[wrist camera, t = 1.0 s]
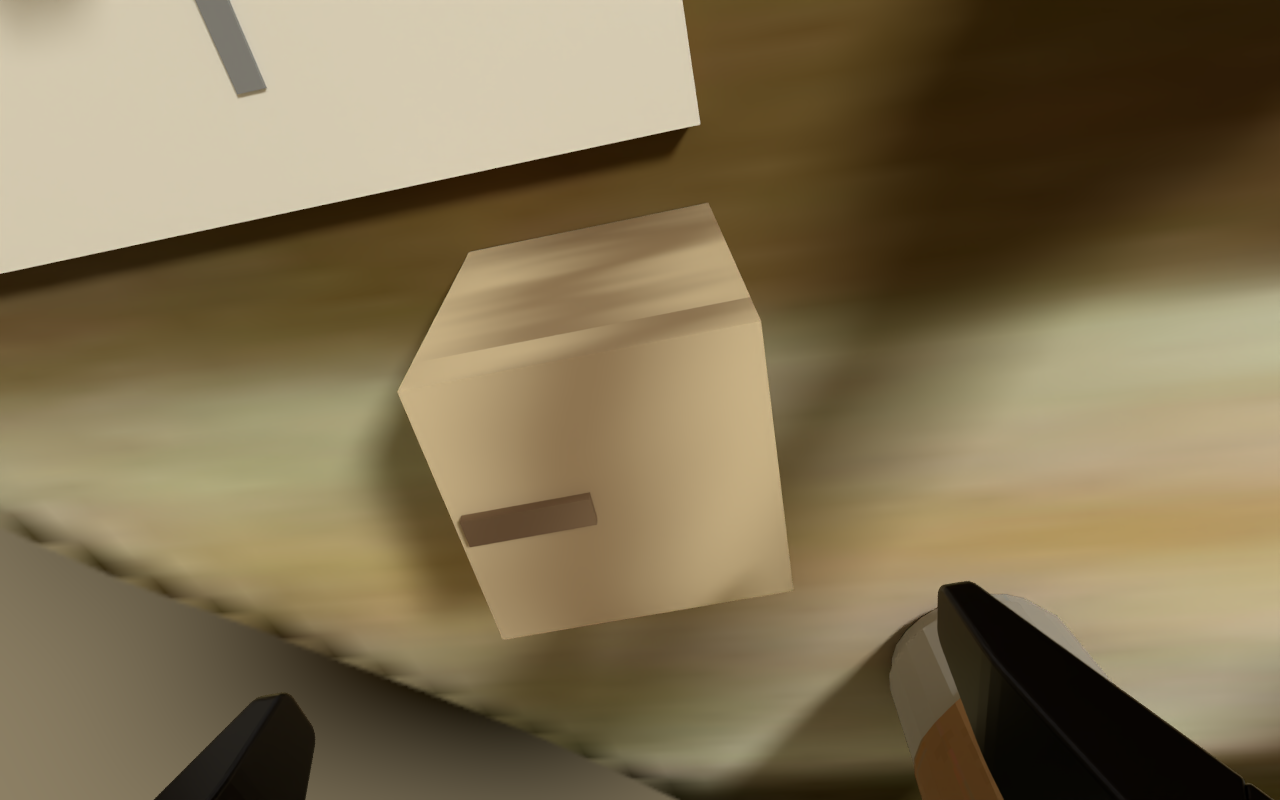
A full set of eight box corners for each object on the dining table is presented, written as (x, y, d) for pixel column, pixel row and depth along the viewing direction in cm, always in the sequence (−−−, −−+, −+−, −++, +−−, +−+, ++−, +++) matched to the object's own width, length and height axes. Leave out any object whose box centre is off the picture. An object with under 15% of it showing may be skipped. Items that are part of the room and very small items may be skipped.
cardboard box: (708, 202, 17) (763, 326, 11) (738, 410, 20) (795, 598, 14) (469, 252, 18) (394, 398, 12) (533, 448, 21) (501, 647, 15)
